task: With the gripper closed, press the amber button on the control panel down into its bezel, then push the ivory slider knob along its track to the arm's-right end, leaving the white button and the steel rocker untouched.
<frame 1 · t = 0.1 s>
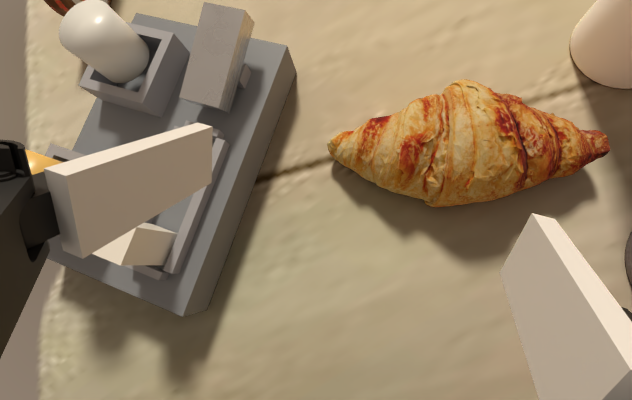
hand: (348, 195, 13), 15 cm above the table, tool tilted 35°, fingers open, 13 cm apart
slider knob: (138, 242, 24), point 7 cm above the table, slide at 0.0 cm
croissant: (448, 153, 29), on the table
panel: (181, 161, 32), on the table
white button: (107, 43, 25), point 9 cm above the table, slide at 0.0 cm
amber button: (39, 186, 24), point 9 cm above the table, slide at 0.0 cm
bottle: (618, 48, 28), on the table
rocker: (217, 59, 26), point 6 cm above the table, hinge at -12.0°
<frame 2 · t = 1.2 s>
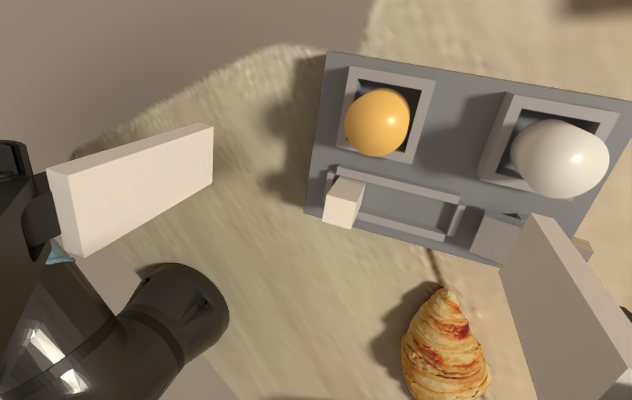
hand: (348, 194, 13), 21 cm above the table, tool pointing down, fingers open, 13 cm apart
slider knob: (345, 200, 30), point 7 cm above the table, slide at 0.0 cm
croissant: (443, 347, 42), on the table
panel: (439, 158, 32), on the table
white button: (553, 157, 22), point 9 cm above the table, slide at 0.0 cm
amber button: (378, 120, 24), point 9 cm above the table, slide at 0.0 cm
rocker: (525, 246, 27), point 6 cm above the table, hinge at -12.0°
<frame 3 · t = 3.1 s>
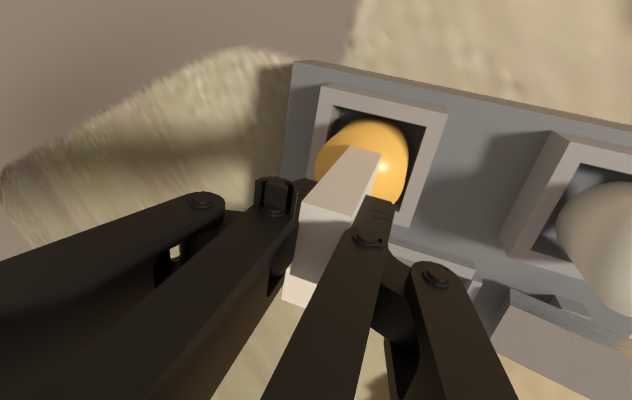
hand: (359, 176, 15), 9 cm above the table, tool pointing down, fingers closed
slider knob: (316, 267, 22), point 7 cm above the table, slide at 0.0 cm
panel: (446, 205, 24), on the table
amber button: (364, 163, 17), point 7 cm above the table, slide at 1.4 cm, touching gripper
rocker: (567, 349, 19), point 6 cm above the table, hinge at -12.0°
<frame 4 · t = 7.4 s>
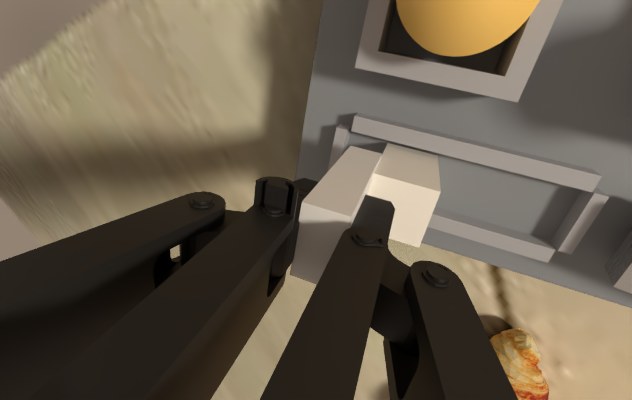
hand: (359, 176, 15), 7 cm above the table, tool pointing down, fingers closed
slider knob: (401, 188, 15), point 7 cm above the table, slide at 1.6 cm, touching gripper
panel: (535, 110, 18), on the table
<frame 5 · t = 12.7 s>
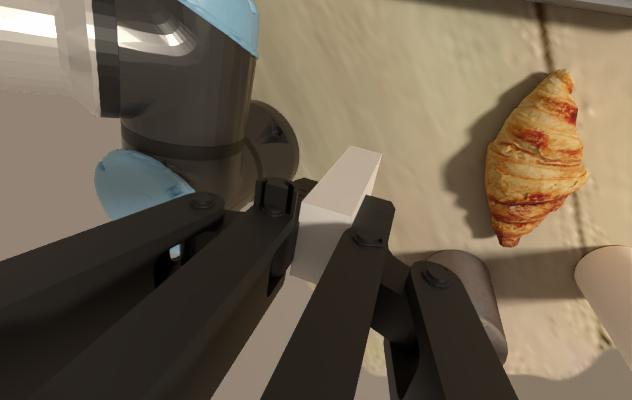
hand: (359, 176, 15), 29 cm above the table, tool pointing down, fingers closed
croissant: (528, 161, 40), on the table
pillar candle: (452, 275, 49), on the table
bottle: (611, 271, 41), on the table
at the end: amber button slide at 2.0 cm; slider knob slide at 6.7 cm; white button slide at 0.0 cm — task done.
